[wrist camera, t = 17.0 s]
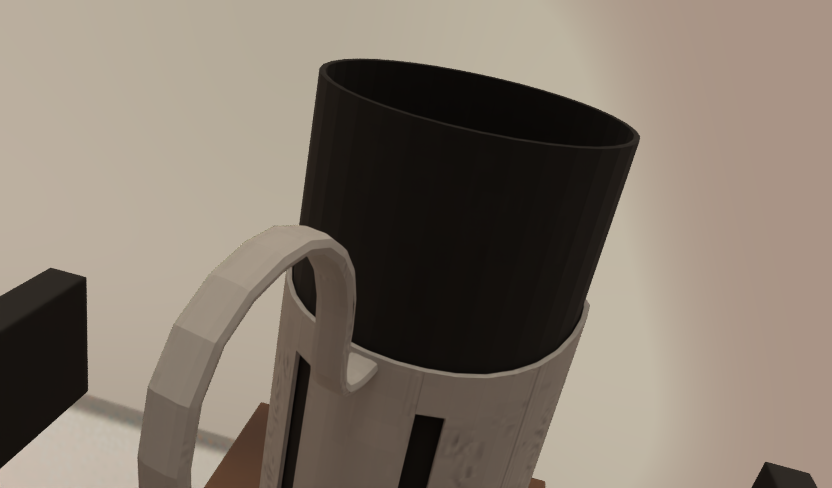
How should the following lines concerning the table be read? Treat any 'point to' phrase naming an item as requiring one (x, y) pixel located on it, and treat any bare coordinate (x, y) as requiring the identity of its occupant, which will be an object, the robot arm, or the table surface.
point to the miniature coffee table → (257, 457)
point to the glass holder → (410, 285)
